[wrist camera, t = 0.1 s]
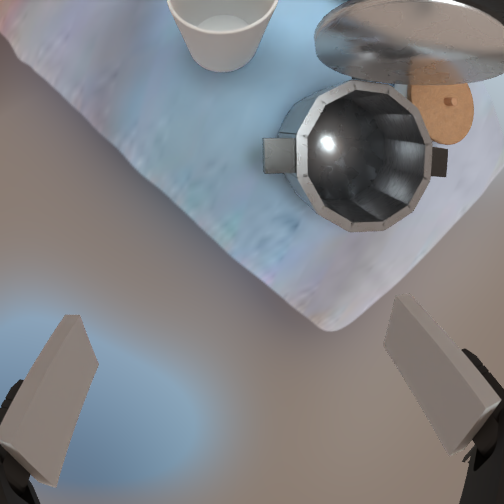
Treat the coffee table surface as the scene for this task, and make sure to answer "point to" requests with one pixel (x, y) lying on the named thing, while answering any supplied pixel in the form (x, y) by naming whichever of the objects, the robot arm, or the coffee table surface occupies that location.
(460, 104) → the lidded jar
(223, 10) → the cup
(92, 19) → the coffee table surface
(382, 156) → the pot
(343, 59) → the lid
